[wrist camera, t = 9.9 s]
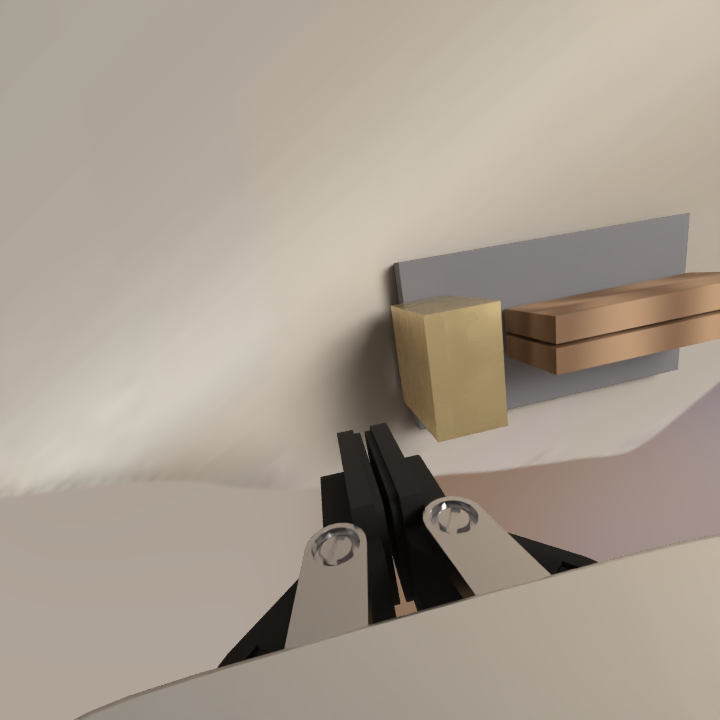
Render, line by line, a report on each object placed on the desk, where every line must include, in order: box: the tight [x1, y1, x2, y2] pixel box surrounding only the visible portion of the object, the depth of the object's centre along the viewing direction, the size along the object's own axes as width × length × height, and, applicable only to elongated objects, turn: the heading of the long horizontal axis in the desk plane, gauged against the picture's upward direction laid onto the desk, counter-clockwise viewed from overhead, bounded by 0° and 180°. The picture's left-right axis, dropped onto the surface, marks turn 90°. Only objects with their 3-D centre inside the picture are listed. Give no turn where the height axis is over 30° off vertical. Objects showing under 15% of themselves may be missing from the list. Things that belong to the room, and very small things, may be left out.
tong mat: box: [394, 213, 690, 430], centre depth 26 cm, size 22×12×1 cm, turn 100°
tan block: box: [391, 295, 508, 442], centre depth 21 cm, size 4×7×6 cm, turn 10°
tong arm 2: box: [506, 309, 720, 375], centre depth 23 cm, size 15×2×5 cm, turn 100°
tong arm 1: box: [505, 272, 720, 344], centre depth 23 cm, size 15×2×5 cm, turn 100°
